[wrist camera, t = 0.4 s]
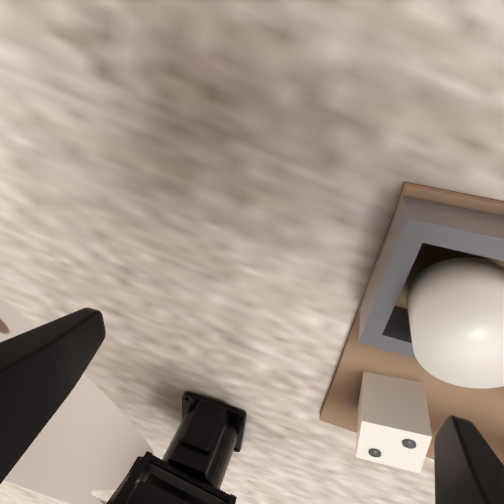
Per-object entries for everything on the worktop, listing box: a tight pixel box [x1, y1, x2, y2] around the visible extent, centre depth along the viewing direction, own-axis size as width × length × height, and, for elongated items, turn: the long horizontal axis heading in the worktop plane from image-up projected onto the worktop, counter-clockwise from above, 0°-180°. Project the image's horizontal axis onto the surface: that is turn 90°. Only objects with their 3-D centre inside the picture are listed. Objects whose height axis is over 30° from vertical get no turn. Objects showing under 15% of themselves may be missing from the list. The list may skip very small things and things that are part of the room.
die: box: [356, 371, 432, 473], centre depth 23 cm, size 4×4×4 cm
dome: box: [407, 257, 504, 389], centre depth 16 cm, size 5×5×3 cm
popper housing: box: [359, 195, 504, 359], centre depth 18 cm, size 8×8×3 cm
